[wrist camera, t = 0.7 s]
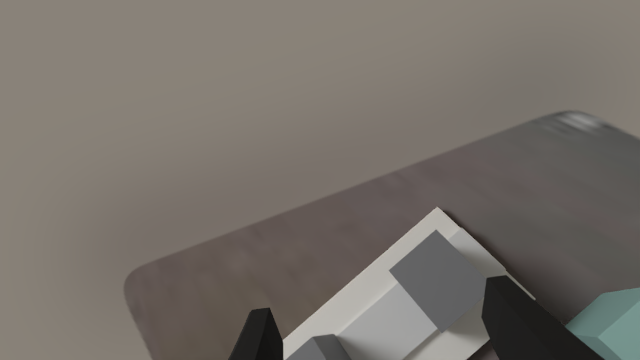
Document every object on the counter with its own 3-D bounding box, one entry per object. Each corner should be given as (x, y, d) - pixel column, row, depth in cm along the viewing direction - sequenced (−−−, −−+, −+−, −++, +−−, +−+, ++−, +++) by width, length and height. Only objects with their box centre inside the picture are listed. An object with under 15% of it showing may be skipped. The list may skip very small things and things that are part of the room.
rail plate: (533, 299, 23) (562, 293, 18) (339, 467, 23) (308, 514, 18) (437, 209, 28) (437, 181, 22) (274, 350, 28) (232, 358, 22)
